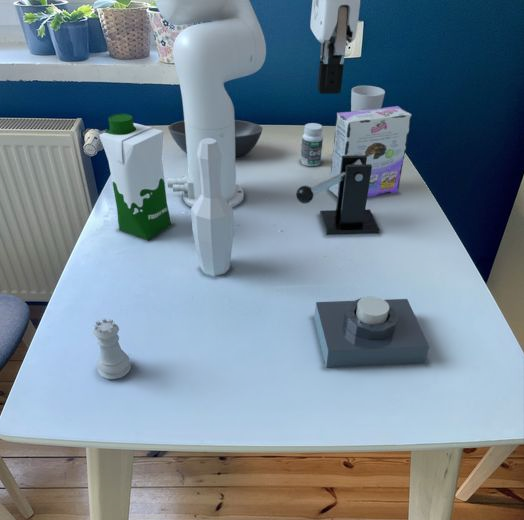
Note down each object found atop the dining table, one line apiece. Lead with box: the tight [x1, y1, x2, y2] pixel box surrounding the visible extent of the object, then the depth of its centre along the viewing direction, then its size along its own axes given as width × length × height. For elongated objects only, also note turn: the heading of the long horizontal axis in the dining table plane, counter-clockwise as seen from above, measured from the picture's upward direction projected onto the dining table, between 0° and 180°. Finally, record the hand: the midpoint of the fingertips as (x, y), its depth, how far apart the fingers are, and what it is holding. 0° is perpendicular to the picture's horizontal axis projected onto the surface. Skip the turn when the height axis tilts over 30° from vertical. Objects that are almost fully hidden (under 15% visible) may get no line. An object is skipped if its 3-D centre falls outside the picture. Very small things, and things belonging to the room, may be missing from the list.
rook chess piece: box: [92, 317, 132, 381], centre depth 71 cm, size 4×4×8 cm
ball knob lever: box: [295, 159, 362, 205], centre depth 99 cm, size 13×3×3 cm, turn 94°
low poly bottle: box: [190, 138, 235, 277], centre depth 85 cm, size 6×6×22 cm
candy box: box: [328, 105, 412, 199], centre depth 110 cm, size 14×6×16 cm, turn 108°
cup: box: [350, 85, 386, 112], centre depth 133 cm, size 8×8×12 cm
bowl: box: [167, 119, 264, 160], centre depth 128 cm, size 12×22×6 cm, turn 88°
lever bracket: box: [319, 155, 380, 236], centre depth 100 cm, size 10×8×13 cm
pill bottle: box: [300, 122, 324, 167], centre depth 124 cm, size 5×5×8 cm
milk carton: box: [98, 113, 172, 241], centre depth 96 cm, size 9×9×20 cm
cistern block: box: [313, 297, 430, 369], centre depth 78 cm, size 14×11×5 cm
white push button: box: [356, 295, 389, 325], centre depth 76 cm, size 4×4×2 cm
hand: (328, 91), depth 79 cm, fingers closed
